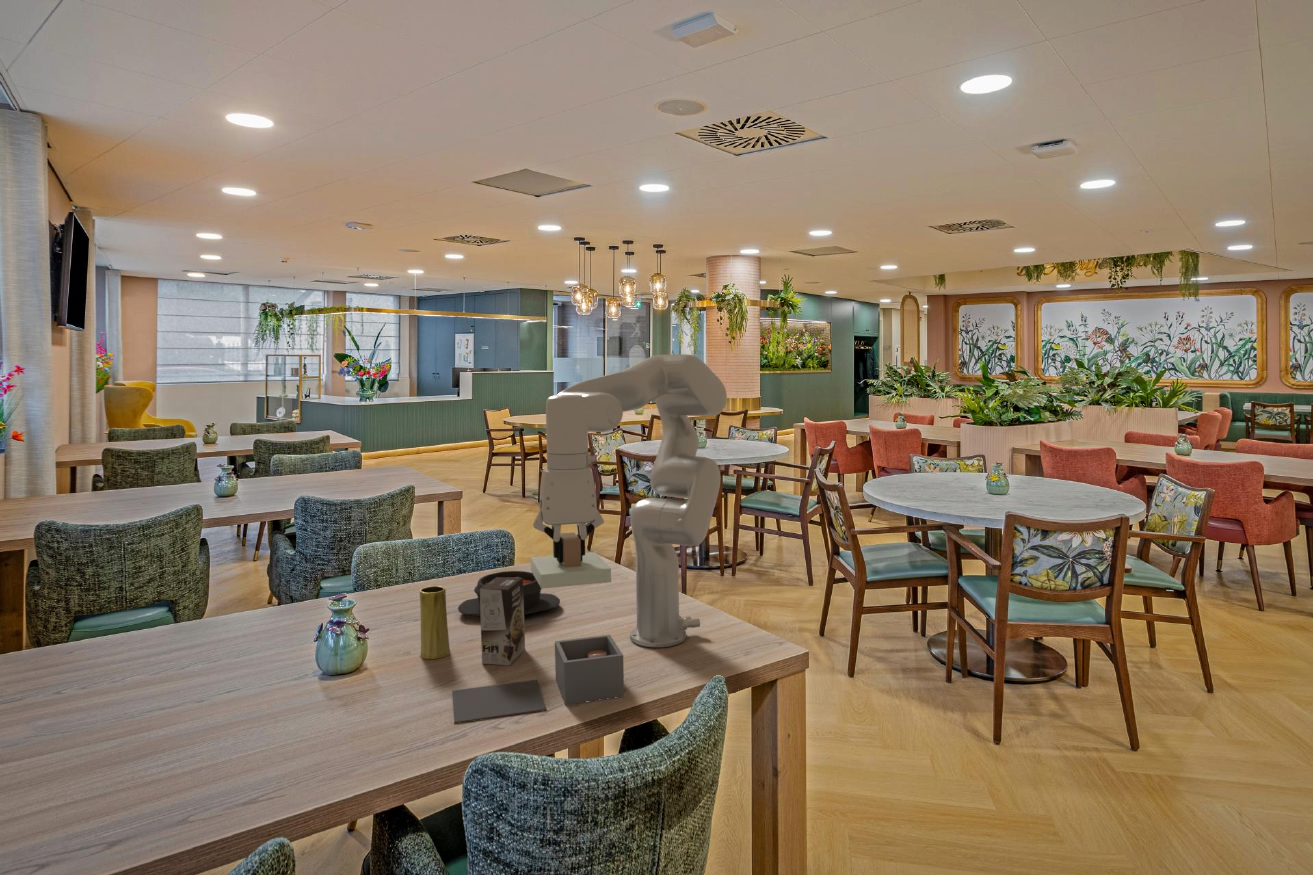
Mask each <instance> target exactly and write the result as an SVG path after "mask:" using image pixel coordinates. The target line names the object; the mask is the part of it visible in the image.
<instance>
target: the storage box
mask: <svg viewBox="0 0 1313 875" xmlns="http://www.w3.org/2000/svg"><path fill="white" fill-rule="evenodd" d="M554 662H555V665H554V669H555V683H556V682H557V683H556V685H557V688H558V690H559V692H560V696H561V695H562V696H561V698H562V701H563V700H564V701H563V703H564V706H568V705H567V704H570V705H576V704H582V703H583V702H584V703H587V702H586V701H591V702H596V701H595V700H598V701H600V700H599V699H605V700H608V699H607V698H612V699H616V698H615V697H619V698H624V697H625V680H624V678H625V677H624V670H625V669H624V668H625V667H624V654H623V652H622V651H621V649H620V648H619V646H618V645H617V644H616V642H615V640H614V639H613V637H612V636H611V634H604V635H595V636H587V637H580V638H569V639H561V640H555V641H554ZM584 703H583V704H584Z"/></svg>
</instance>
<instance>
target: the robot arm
mask: <svg viewBox="0 0 1313 875" xmlns="http://www.w3.org/2000/svg"><path fill="white" fill-rule="evenodd" d="M653 401H655V406H656V408H657V411H658V414H659V418H660V422H661V426H662V438H661V442H660V443H659V444H660V446H659V448H658V451H657V454H656V457H655V461H654V464H653V466H652V467H653V468H652V471H651V473H650V474H651V475H650V480H649V481H650V482H649V483H650V487H651V490H652V491H653V492H654V493H656V494H658V495H660V496H665V497H669V498H670V497H671V498H679V499H687V500H677V499H669V498H663V497H662V498H659V497H646V498H643V499H641V500H639V501H636V503H635V504H634V506H633V507H632V509H631V510H630V511H631V513H630V518H629V520H630V521H629V522H630V526H631V532H632V538H633V543H634V551H635V594H636V595H635V597H636V598H635V599H636V602H635V603H636V627H634V628H633V629H631V631H630V632H629V638H630V640H631V641H632V642H633V643H634V644H636V645H639V646H642V647H648V648H668V647H674V646H677V645H680V644H681V643H683V642H684V641H685V640H686V638H687V631H686V630H688V628H690V629H691V628H700V627H701V620H700V618H692V617H691V616H684V617H682V616H680V588H679V586H680V580H679V579H680V576H679V575H680V573H679V572H680V571H679V570H680V567H679V566H680V564H679V563H680V562H679V558H678V555H677V552H676V550H675V547H674V546H673V545H679V546H685V547H695V546H699V545H700V544H702V542H703V541H704V540H705V539H706V537H707V535H708V534H707V533H708V531H709V528H710V526H711V525H710V524H711V521H712V518H713V515H714V511H715V510H714V509H715V507H716V503H717V500H718V496H719V493H720V492H719V491H720V488H721V479H722V478H721V471H720V467H719V465H718V463H717V462H716V461H715V460H713V459H712V458H709V457H706V456H697V453H698V452H697V451H698V449H699V448H698V447H699V443H700V442H699V441H700V438H699V435H698V433H697V431H696V428H695V427H694V425H693V423H692V422H691V419H689V416H690V417H692V416H694V417H714V416H715V417H716V416H718V415H719V414H721V413H722V412H723V411H724V410H725V407H726V405H727V401H728V395H727V390H726V388H725V385H724V383H723V382H722V380H721V379H720V378H719V377H718V376H717V375H716V374H715V373H714V371H712V369H710V367H709V366H708V365H707V364H706V363H705V362H704V361H703V360H701V359H700V358H698V357H696V356H695V355H693V354H657V355H655V354H654V355H651V356H650V357H648V358H645V359H643V360H641V361H640V362H638V363H636V364H633V365H632V366H629V367H628V368H625V369H624V370H621V371H617V372H612V373H610V374H609V373H608V374H606V375H603V376H599V377H595V378H592V379H587V380H584V381H581V382H578V383H576V384H573V385H571V386H570V387H567V388H565V389H563V390H561V391H560V392H559V393H558V394H555V395H551V396H549V397H548V398H547V399H546V402H545V430H546V431H545V432H546V434H545V435H546V468H545V469H543V470H542V471H541V472H542V473H541V479H540V487H539V488H540V489H539V511H538V513H537V515H536V517H535V520H534V521H533V524H532V526H533V529H534V530H535V529H536V530H538V531H540V532H542V533H544V534H546V535H547V536H548V537H549V538H551V540H552V544H553V545H552V548H553V550H552V554H553V555H552V556H554V558H557V561H558V562H559V563H562V562H563V542H562V541H561V537H560V533H561V531H562V530H561V529H562V525H563V526H564V525H575V524H576V531H577V534H576V535H577V536H578V537H579V538H580V539H581V561H582V560H583V558H582V556H584V555H585V553H586V540H587V538H588V537H589V535H590V534H592V532H593V531H594V530H595V529H596V528H598V527H600V526H601V525H603V524H604V523H605V521H604V518H603V516H602V514H601V513H600V511H599V509H598V505H597V493H596V484H595V480H594V479H595V478H594V474H593V473H594V472H593V470H592V468H591V467H590V464H592V463H595V462H597V455H596V454H590V452H589V432H591V433H606V432H609V431H612V430H614V429H616V428H617V427H618V426H619V424H620V423H621V422H622V419H623V415H624V414H623V413H624V412H630V411H634V410H635V411H636V410H638V409H639V410H640V409H641V408H643V407H645V406H646V405H648V404H649V403H651V402H653ZM550 526H551V527H550Z"/></svg>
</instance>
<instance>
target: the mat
mask: <svg viewBox="0 0 1313 875" xmlns="http://www.w3.org/2000/svg"><path fill="white" fill-rule="evenodd" d="M452 707H453V708H452V709H453V722H454V723H455V724H460V723H459V722H462V723H465V722H464V721H469V722H474V721H473V720H476V721H481V720H480V719H483V720H489V719H495V718H503V716H504V717H509V716H516V715H517V714H518V715H523V714H524V715H525V714H531V713H530V712H532V713H537V712H536V711H539V712H543V711H542V710H546V711H547V706H546V702H545V700H544V696H543V693H542V690H541V688H540V685H539V681H538V679H532V680H523V681H515V682H509V683H502V684H493V685H492V684H491V685H485V686H478V687H470V688H463V689H455V690H452ZM518 715H517V716H518Z"/></svg>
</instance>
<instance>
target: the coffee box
mask: <svg viewBox="0 0 1313 875" xmlns="http://www.w3.org/2000/svg"><path fill="white" fill-rule="evenodd" d="M480 615H481V616H480V640H481V641H480V642H481V644H480V645H481V647H480V648H481V664H487V665H500V666H511V665H512V663H514V661H515V660H516V659H517V658H518V657H520V655H521V654H522V653H523V652H524V651H525V650H526V638H525V635H526V634H525V616H524V598H523V578H517V577H505V578H504V577H496V578H494V579H493V580H492V581H490V582H489V583H487V584H486V585H484V586H483V587H481V588H480Z"/></svg>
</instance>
